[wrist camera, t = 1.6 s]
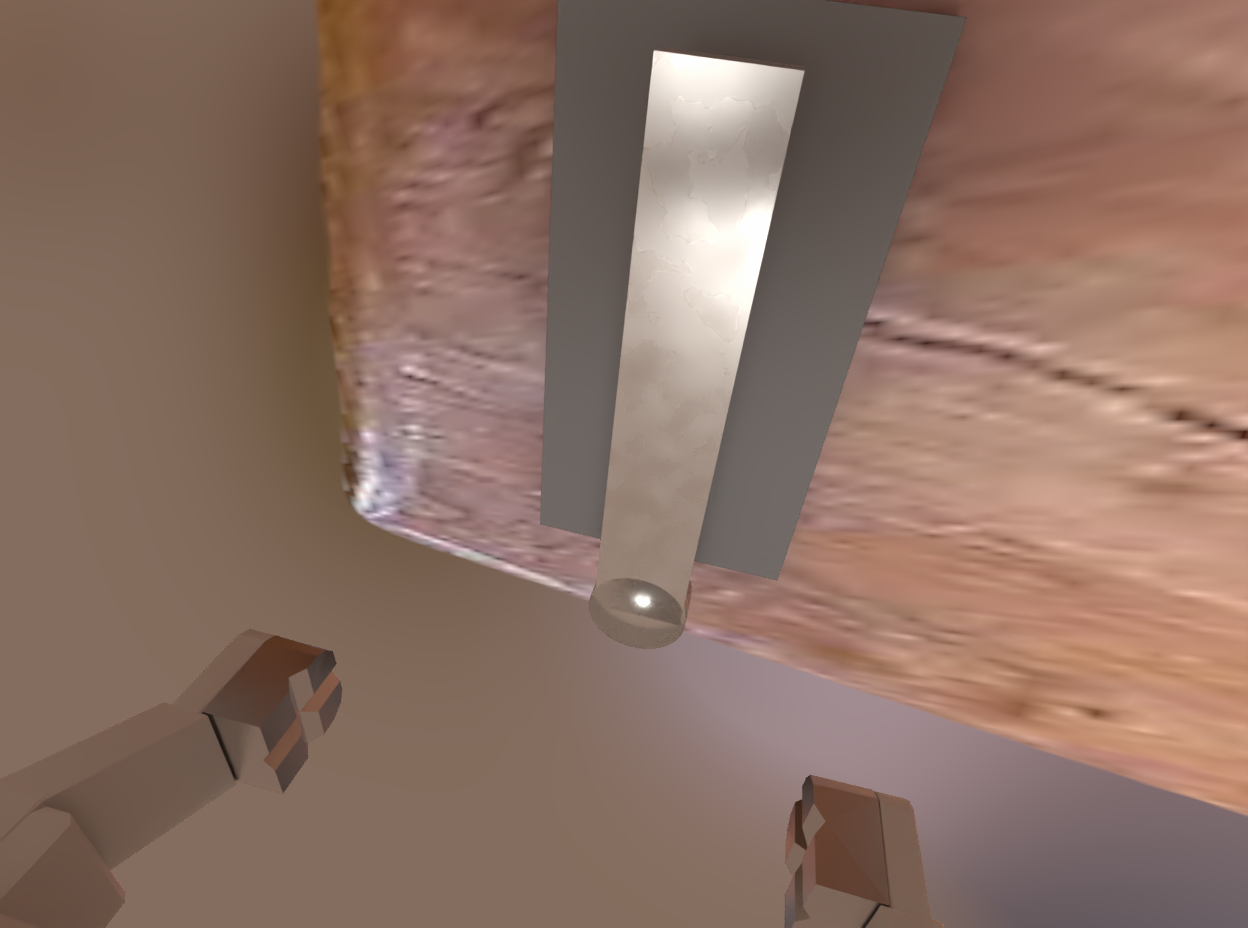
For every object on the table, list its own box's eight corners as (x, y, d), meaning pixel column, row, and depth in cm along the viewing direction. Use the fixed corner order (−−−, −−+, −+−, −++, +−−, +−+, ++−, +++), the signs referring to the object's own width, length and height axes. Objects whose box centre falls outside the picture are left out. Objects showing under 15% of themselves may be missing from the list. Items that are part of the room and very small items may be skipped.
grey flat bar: (658, 46, 24) (644, 49, 22) (813, 67, 23) (813, 71, 21) (596, 604, 41) (585, 634, 39) (684, 626, 40) (677, 658, 38)
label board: (570, -30, 28) (529, -38, 24) (959, 17, 26) (987, 17, 22) (547, 516, 45) (521, 564, 41) (776, 570, 43) (773, 626, 39)
